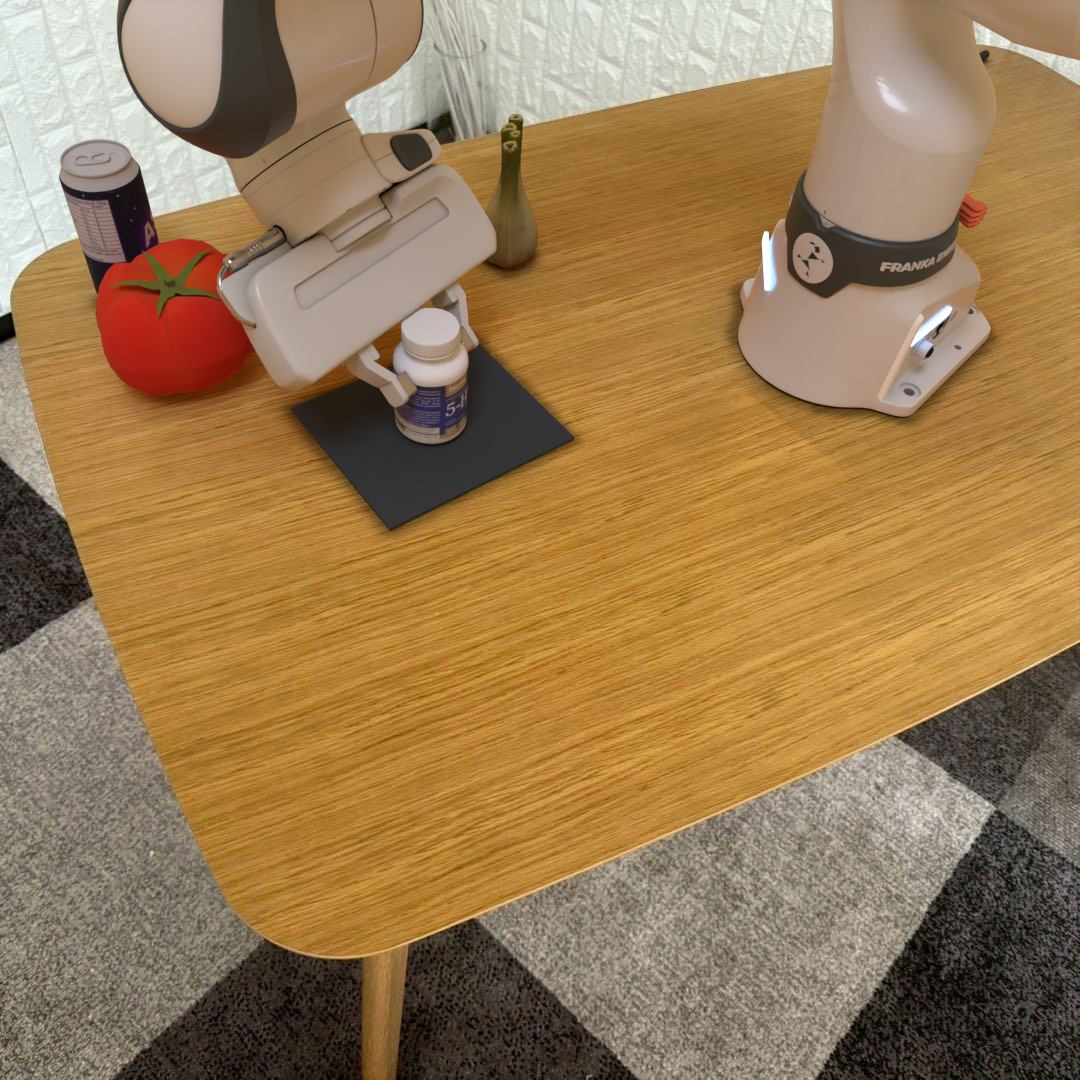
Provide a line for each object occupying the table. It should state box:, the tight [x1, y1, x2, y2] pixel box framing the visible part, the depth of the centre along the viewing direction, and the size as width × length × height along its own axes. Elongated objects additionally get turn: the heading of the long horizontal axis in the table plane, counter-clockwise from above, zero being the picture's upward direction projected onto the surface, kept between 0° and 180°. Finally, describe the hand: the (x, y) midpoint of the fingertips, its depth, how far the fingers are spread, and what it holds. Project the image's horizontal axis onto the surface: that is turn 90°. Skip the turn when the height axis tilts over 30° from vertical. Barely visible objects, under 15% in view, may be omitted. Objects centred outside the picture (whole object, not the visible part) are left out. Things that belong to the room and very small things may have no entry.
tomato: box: [94, 237, 255, 397], centre depth 75 cm, size 13×12×8 cm
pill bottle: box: [392, 307, 468, 444], centre depth 72 cm, size 5×5×9 cm
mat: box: [290, 343, 575, 532], centre depth 76 cm, size 16×14×1 cm
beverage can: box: [58, 138, 160, 295], centre depth 78 cm, size 6×6×12 cm
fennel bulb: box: [485, 113, 539, 268], centre depth 85 cm, size 6×5×12 cm
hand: (438, 375), depth 71 cm, fingers closed on pill bottle, 5 cm apart
